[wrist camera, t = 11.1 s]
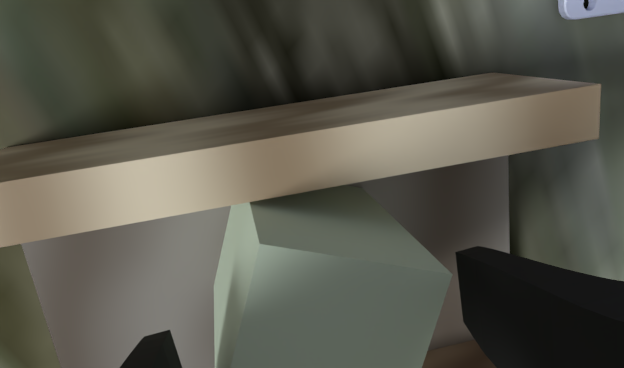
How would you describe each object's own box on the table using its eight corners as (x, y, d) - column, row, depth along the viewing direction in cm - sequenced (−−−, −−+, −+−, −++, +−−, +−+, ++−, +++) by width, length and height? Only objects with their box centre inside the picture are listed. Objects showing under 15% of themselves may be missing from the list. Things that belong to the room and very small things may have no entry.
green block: (362, 188, 18) (452, 274, 11) (326, 320, 19) (387, 469, 12) (240, 164, 17) (259, 244, 10) (209, 306, 18) (208, 460, 11)
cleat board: (492, 72, 19) (601, 84, 13) (497, 342, 22) (586, 434, 17) (4, 147, 16) (-93, 197, 11) (96, 439, 20) (55, 582, 14)
